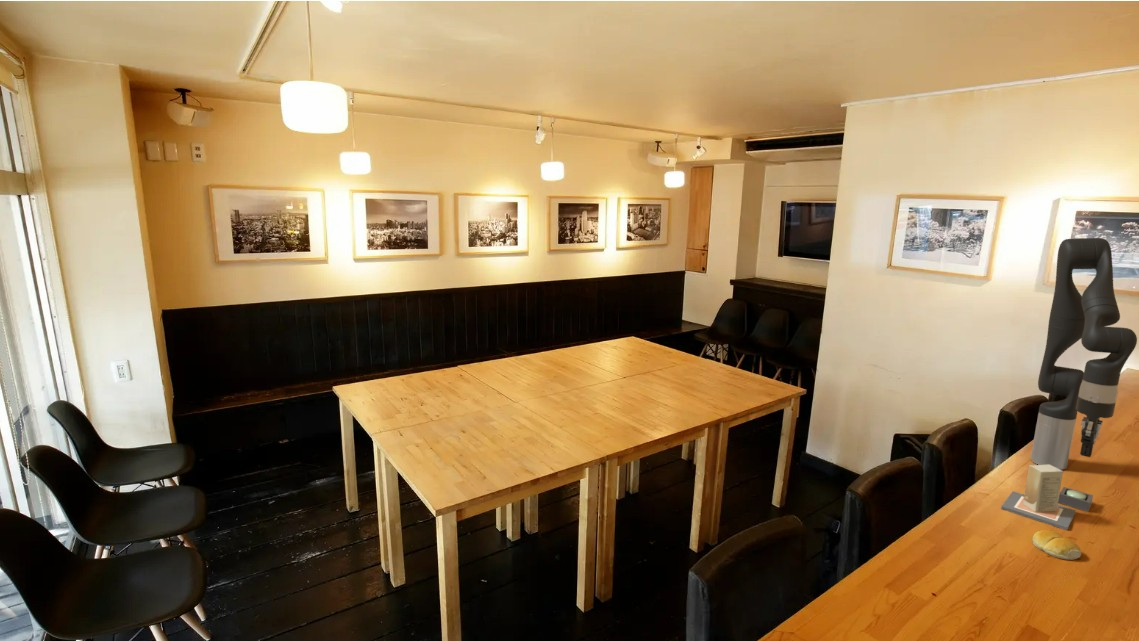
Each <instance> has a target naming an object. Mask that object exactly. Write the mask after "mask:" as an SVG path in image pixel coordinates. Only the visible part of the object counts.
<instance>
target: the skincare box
mask: <svg viewBox="0 0 1139 641" xmlns="http://www.w3.org/2000/svg"><path fill="white" fill-rule="evenodd" d="M1063 474H1064V471H1063V470H1060V469H1058V468H1056V467H1054V466H1052V465H1037V464H1030V465H1028V471H1027V476H1026V483H1025V487H1024V488H1025V490H1024V501H1023V504H1024V505H1025V506H1027V507H1028V508H1030V509H1031V510H1033V511H1035V512H1050V511H1057V505H1059V503H1058V499H1059V494H1060V492H1061V486H1062V481H1063Z"/></svg>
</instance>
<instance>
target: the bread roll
mask: <svg viewBox="0 0 1139 641" xmlns="http://www.w3.org/2000/svg"><path fill="white" fill-rule="evenodd" d="M1032 543H1033V545H1034V547H1036V548H1037V549H1038V550H1040V551H1043V552H1045V553H1046V554H1047V555H1050V556H1051V557H1054V558H1058V559H1060V560H1067V561H1068V560H1071V561H1072V560H1076V559H1079V558H1080V557H1081V556H1082V550H1081V548H1080V547H1079V546H1078V544H1077V543H1075V542H1074V541H1073V540H1071V539H1069V538H1066V537H1063V535H1061V533H1058V532H1056V531H1052V530H1047V529H1046V530H1043V529H1042V530H1039V531H1036V532H1035V533H1034V534H1033V536H1032Z"/></svg>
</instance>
